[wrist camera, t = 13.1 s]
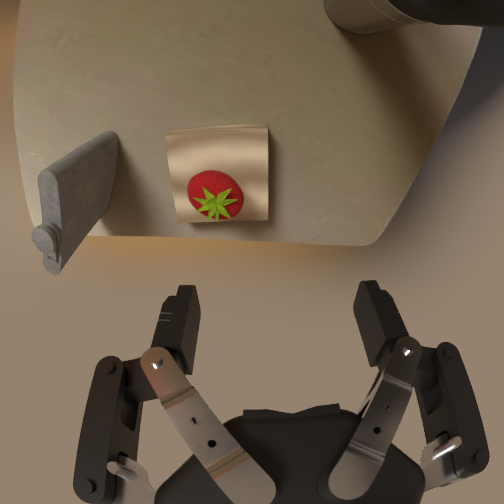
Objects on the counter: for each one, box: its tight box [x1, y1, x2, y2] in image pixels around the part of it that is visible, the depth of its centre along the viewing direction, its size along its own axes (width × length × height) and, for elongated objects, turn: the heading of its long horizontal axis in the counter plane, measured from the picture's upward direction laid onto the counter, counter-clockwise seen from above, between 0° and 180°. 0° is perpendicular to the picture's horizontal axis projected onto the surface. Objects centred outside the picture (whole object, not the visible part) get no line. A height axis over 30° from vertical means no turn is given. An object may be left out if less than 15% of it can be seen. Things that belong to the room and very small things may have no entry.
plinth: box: [165, 125, 268, 223], centre depth 41 cm, size 14×14×4 cm
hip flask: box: [32, 131, 118, 275], centre depth 34 cm, size 16×4×20 cm, turn 158°
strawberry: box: [187, 170, 244, 222], centre depth 35 cm, size 6×8×10 cm
